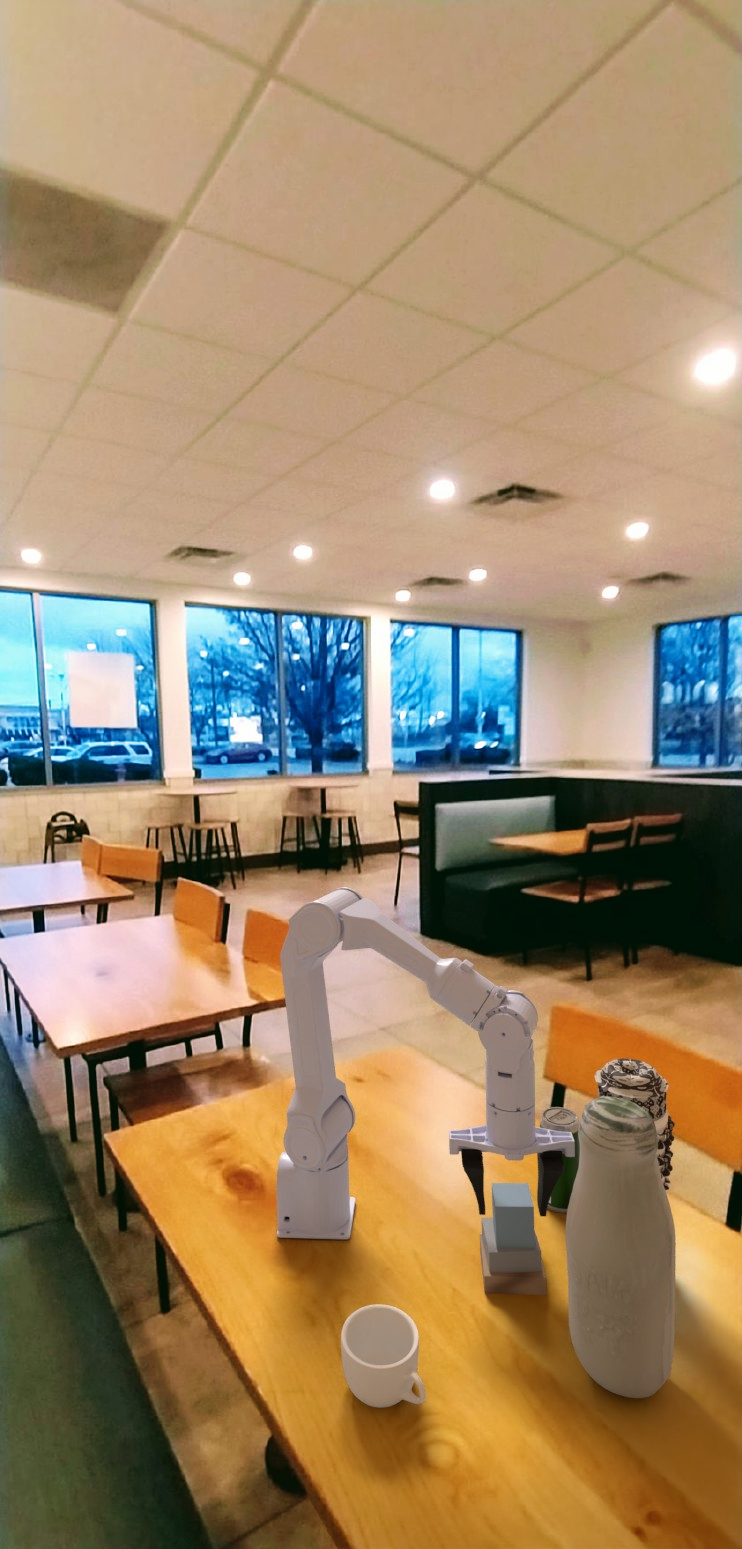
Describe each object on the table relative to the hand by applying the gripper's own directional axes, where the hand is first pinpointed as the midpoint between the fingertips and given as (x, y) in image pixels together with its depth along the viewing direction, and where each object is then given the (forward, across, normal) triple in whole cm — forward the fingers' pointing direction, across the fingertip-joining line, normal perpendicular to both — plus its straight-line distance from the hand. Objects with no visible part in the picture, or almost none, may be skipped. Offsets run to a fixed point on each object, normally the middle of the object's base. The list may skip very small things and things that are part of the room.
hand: (511, 1210), depth 87 cm
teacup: (+8, -14, -17) cm, 23 cm away
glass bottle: (+8, +9, -14) cm, 18 cm away
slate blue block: (+3, 0, 0) cm, 3 cm away
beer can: (+8, +8, +13) cm, 17 cm away
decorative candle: (+8, +14, 0) cm, 16 cm away
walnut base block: (+8, 0, 0) cm, 8 cm away
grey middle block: (+5, 0, 0) cm, 5 cm away
